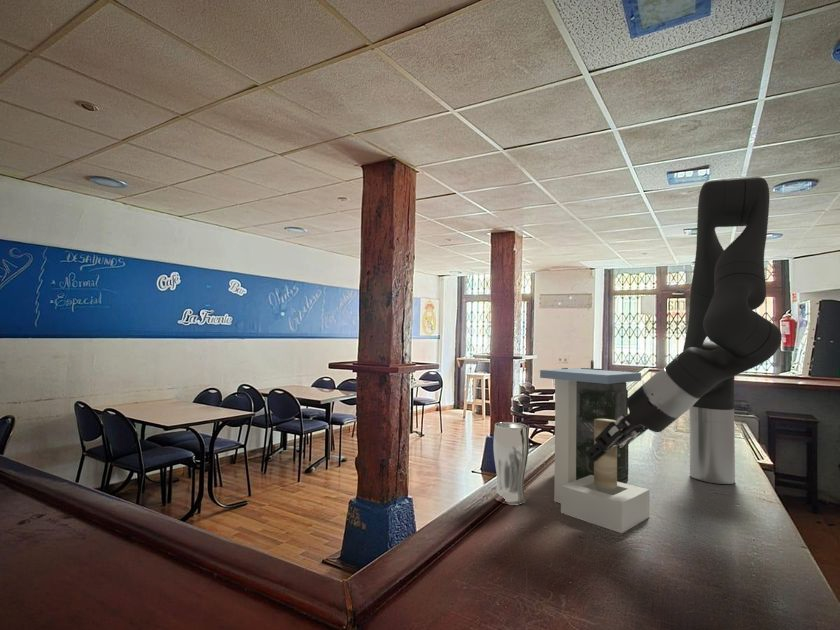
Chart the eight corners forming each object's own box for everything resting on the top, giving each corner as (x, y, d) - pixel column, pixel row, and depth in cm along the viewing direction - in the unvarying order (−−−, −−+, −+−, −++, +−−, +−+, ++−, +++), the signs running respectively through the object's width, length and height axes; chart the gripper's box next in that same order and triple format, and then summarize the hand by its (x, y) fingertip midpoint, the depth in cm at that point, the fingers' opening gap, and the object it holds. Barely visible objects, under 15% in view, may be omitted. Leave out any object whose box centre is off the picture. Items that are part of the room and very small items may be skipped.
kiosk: (618, 535, 76) (618, 376, 77) (538, 508, 87) (540, 370, 89) (652, 515, 85) (651, 373, 86) (575, 493, 96) (576, 368, 98)
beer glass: (507, 508, 86) (508, 429, 87) (485, 497, 93) (486, 423, 93) (535, 503, 90) (536, 427, 90) (512, 492, 96) (513, 421, 97)
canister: (632, 494, 97) (632, 363, 98) (555, 485, 102) (556, 360, 103) (624, 474, 112) (624, 360, 113) (557, 467, 117) (558, 358, 118)
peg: (597, 480, 88) (597, 418, 88) (619, 485, 85) (619, 420, 86) (591, 485, 84) (591, 420, 85) (613, 490, 82) (613, 423, 83)
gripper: (661, 380, 85) (599, 435, 93) (628, 384, 76) (562, 444, 84) (693, 413, 81) (625, 467, 89) (662, 421, 71) (589, 480, 80)
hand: (595, 455), depth 87 cm, fingers closed on peg, 4 cm apart
